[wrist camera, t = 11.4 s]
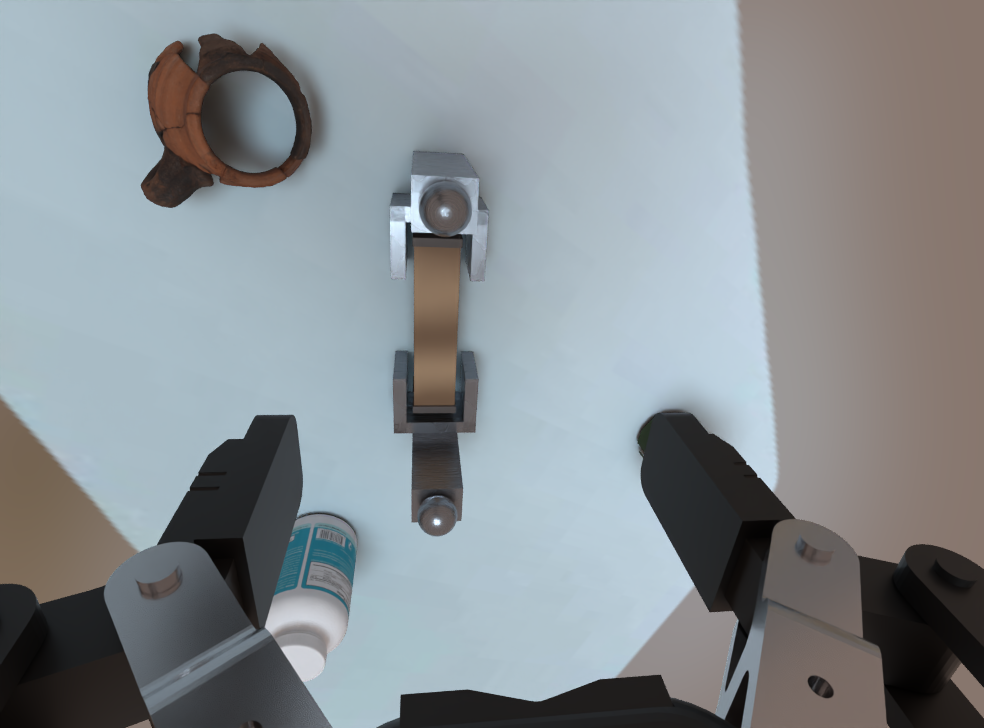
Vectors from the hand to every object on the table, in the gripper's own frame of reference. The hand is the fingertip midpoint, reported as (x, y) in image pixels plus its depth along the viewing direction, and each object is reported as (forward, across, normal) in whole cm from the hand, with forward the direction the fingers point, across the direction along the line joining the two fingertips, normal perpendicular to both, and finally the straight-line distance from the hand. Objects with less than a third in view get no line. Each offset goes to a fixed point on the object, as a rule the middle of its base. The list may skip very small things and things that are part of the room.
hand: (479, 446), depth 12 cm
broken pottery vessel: (+32, +14, -4) cm, 36 cm away
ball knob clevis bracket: (+32, 0, +9) cm, 33 cm away
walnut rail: (+32, 0, +9) cm, 33 cm away
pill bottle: (+32, +11, +34) cm, 48 cm away
